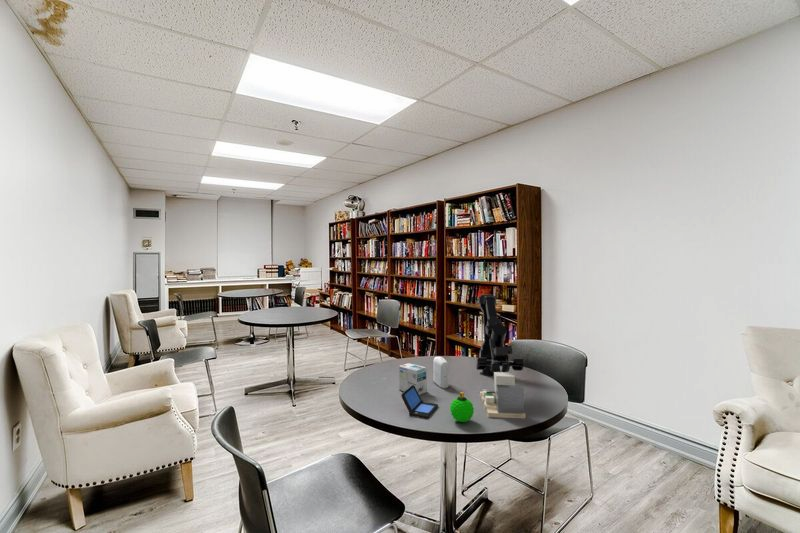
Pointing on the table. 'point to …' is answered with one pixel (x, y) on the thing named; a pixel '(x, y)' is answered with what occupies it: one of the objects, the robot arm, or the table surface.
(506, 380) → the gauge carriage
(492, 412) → the base
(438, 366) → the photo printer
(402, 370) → the light bulb box
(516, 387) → the grey square block
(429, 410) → the handheld game console
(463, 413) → the ornament
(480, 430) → the table surface
